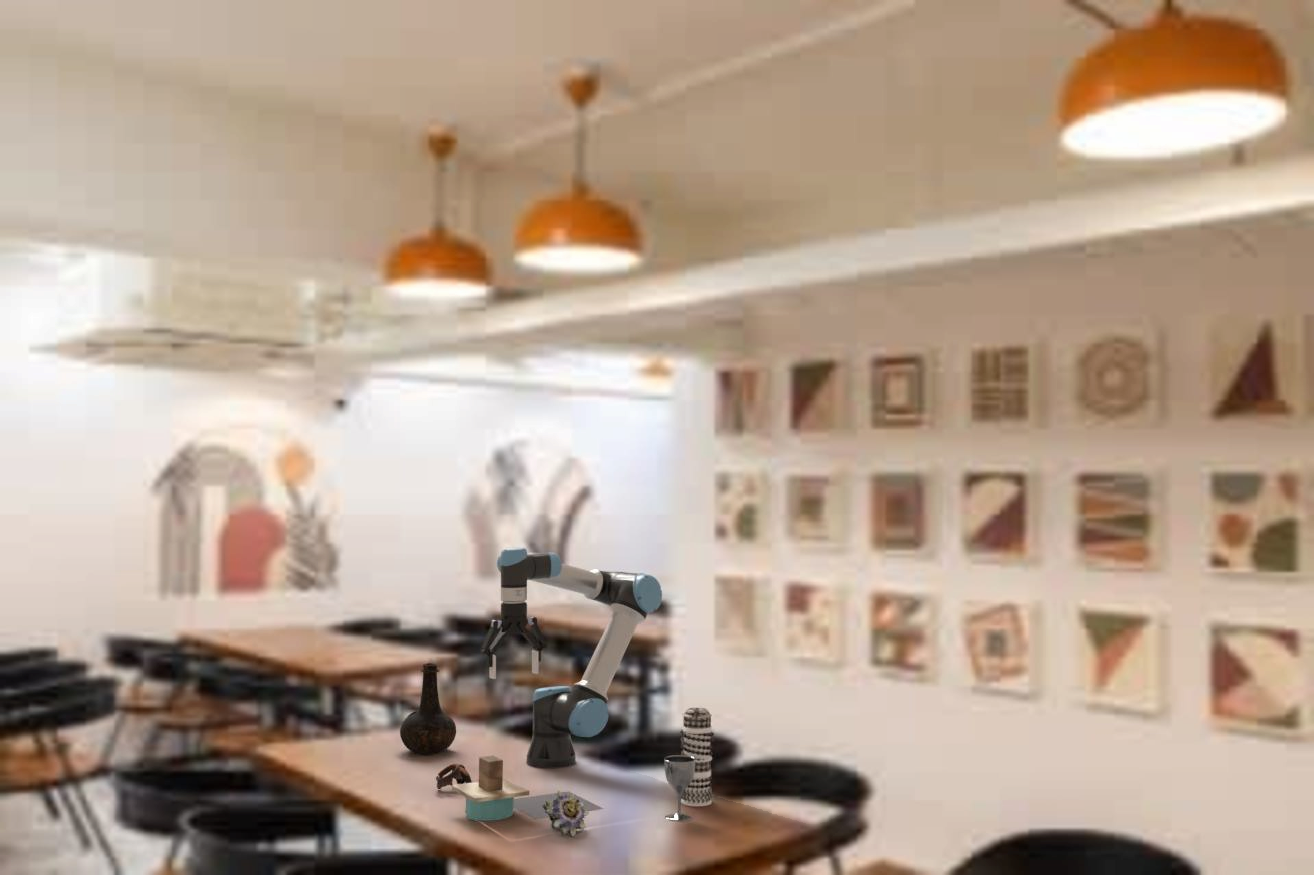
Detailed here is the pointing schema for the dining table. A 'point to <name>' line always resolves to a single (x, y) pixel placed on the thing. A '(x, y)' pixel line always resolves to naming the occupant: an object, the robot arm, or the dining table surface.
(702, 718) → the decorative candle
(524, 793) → the lid
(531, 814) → the mat
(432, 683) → the glass bottle
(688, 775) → the wine glass
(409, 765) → the dining table surface
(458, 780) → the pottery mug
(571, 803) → the passion flower
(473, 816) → the bowl
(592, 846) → the dining table surface
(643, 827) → the dining table surface
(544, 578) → the robot arm
